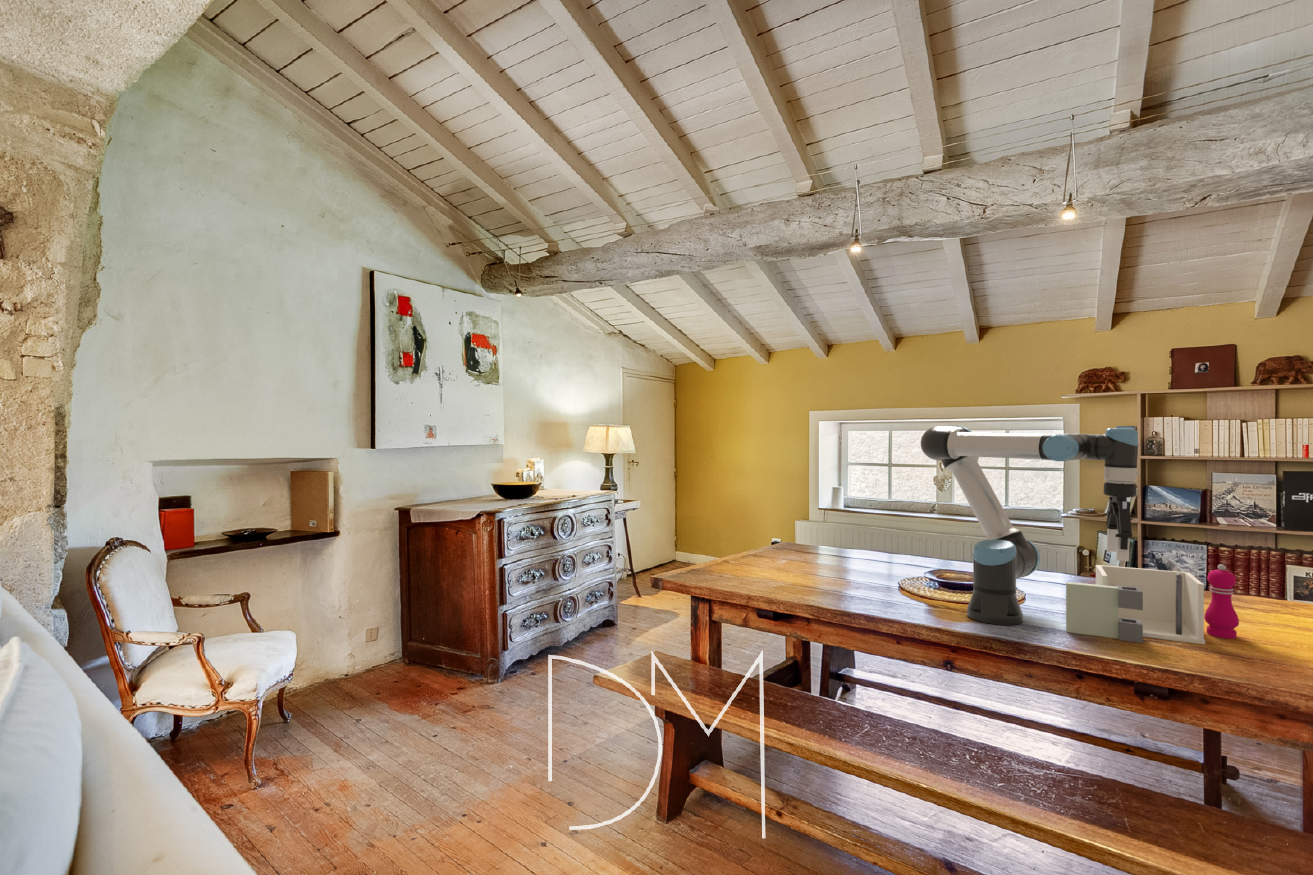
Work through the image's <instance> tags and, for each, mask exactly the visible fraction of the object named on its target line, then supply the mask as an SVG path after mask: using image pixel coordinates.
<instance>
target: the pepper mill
mask: <svg viewBox="0 0 1313 875" xmlns="http://www.w3.org/2000/svg"><path fill="white" fill-rule="evenodd" d="M1207 574H1208V575H1207V581H1208V583H1210V586H1209V592H1211V601H1210V604H1209V605H1208V607H1207V608H1206V610H1205V611H1204V622H1206V623H1207V624H1208V625H1207V626H1206V633H1207V635H1208V636H1209V635H1210V636H1212V637H1215V638H1221V639H1228V640H1229V639H1231V640H1232V639H1237V630H1235V628H1238V626H1239V624H1240V621H1239V620H1240V619H1239V616H1238V614H1237V611H1236V610H1235V608H1234V606H1233V603H1232V595H1233V594H1234V588H1233V587H1234V586H1236V584H1237V578H1236V576H1235V574H1233V573H1232V572H1231V571H1228V570H1227V567H1226V565H1224V564H1223V563H1221V564H1218V565H1217V569H1214V570H1213V569H1212V570H1211V571H1209V572H1208V573H1207Z"/></svg>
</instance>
